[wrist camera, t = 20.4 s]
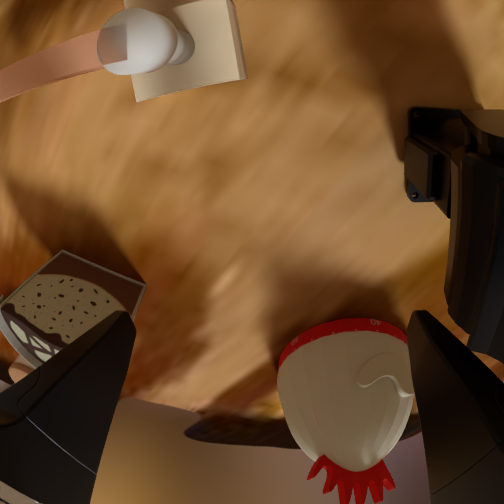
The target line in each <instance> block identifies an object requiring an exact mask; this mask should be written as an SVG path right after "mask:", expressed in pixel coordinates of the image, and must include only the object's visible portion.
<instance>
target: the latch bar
mask: <svg viewBox="0 0 504 504" xmlns="http://www.w3.org/2000/svg"><path fill="white" fill-rule="evenodd" d="M177 43H178V35H177V31H176V28H175V26H174V24H173V23H172V22H171V21H170V20H169V19H168V18H166V17H164V16H162V15H159V14H157V13H154V12H151V11H148V10H145V9H141V8H128V9H125V10H122V11H120V12H118V13H116V14H115V15H113V16H112V17H111V18H110V19H109V20H108V21H107V22H106V23H105V24H104V26H103V27H102V29H100V30H97V31H93V32H90V33H87V34H84V35H81V36H78V37H75V38H72V39H70V40H67V41H64V42H62V43H59V44H56V45H54V46H51V47H49V48H46V49H44V50H42V51H39V52H37V53H35V54H32V55H30V56H28V57H26V58H24V59H22V60H19V61H17V62H15V63H13V64H11V65H9V66H7V67H5V68H4V69H2V70H0V103H1V102H3V101H5V100H8V99H10V98H13V97H15V96H18V95H20V94H23V93H25V92H28V91H31V90H33V89H36V88H39V87H42V86H45V85H48V84H51V83H54V82H57V81H60V80H64V79H67V78H70V77H74V76H77V75H81V74H85V73H88V72H92V71H96V70H101V69H105V68H106V69H107V70H108V71H110V72H112V73H114V74H118V75H129V74H141V73H150V72H154V71H156V70H158V69H160V68H162V67H163V66H164V65H166V64H167V63H168V62H169V60H170V59H171V58H172V56H173V55H174V53H175V50H176V47H177Z"/></svg>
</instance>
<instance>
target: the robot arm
mask: <svg viewBox="0 0 504 504" xmlns="http://www.w3.org/2000/svg"><path fill="white" fill-rule="evenodd" d="M415 111H417V112H418V116H417V117H416V118H415V117H414V115H413V113H414V112H415ZM404 175H405V176H406V177H407V178H408V183H407V196H408V198H409V199H410V200H411V201H412V202H434V203H435V204H436V205H437V206H438V207H439V208H440V210H441V211H442V212H443V213H444V214H445V215H446V216H447V218H449V219H451V220H450V237H449V249H448V260H447V269H446V277H445V285H444V293H445V297H446V301H447V304H448V306H449V307H448V314H449V315H450V316H451V318H452V319H453V320H454V322H455V323H456V324H457V325H458V326H459V327H460V328H462V329H463V330H464V331H465V332H466V333H468V334H469V335H470V336H469V339H468V342H467V346H465V345H464V344H463V343H462V342H461V341H460V340H459V339H458V338H457V337H455V336H454V335H453V334H452V333H451V332H450V331H449V330H448V329H447V328H446V327H445V326H443V325H442V324H441V323H440V322H439V321H438V320H437V319H436V318H435V317H433V316H432V315H431V314H430V313H429V312H428V311H426V310H415V311H413V312H412V315H411V318H410V321H409V324H408V328H407V333H406V336H407V344H408V351H409V359H410V368H411V376H412V382H413V387H414V392H415V397H416V402H417V407H418V412H419V418H420V424H421V429H422V436H423V442H424V448H425V456H426V464H427V471H428V481H429V492H430V495H431V496H430V504H504V383H503V382H502V381H501V380H500V379H499V378H497V376H496V375H495V374H494V373H493V372H492V371H491V370H490V369H489V368H488V367H487V366H486V365H485V364H484V363H483V362H482V361H481V360H480V359H479V358H478V357H477V356H476V355H475V354H474V353H473V352H471V351H475V352H479V353H483V354H487V355H489V356H491V357H493V358H495V359H496V360H498V361H500V362H502V363H503V364H504V110H459V109H448V108H435V107H419V106H413V107H411V108H409V110H408V136H407V137H406V138H405V168H404ZM414 192H417V194H416V196H414V197H412V194H413V193H414ZM135 337H136V328H135V325H134V323H133V321H132V319H131V316H130V314H129V313H128V312H127V311H125V310H116V311H114V312H113V313H111V314H110V315H109V316H107V317H106V318H104V319H103V320H102V321H100V322H99V323H97V324H96V325H95V326H93V327H92V328H91V329H89V330H88V331H86V332H85V333H84V334H82V335H81V336H79V337H78V338H77V339H75V340H74V341H73V342H71V343H70V344H69V345H67V346H66V347H64V348H63V349H62V350H60V351H59V352H58V353H56V354H55V355H54V356H52V357H51V358H50V359H48V360H47V361H46V362H44V363H43V364H42V365H40V366H39V367H37V368H36V369H35V370H34V371H32V372H31V373H29V374H28V375H27V376H25V377H24V378H22V379H21V380H19V381H18V382H16V383H15V384H13V385H12V386H10V387H9V388H7V389H6V390H4V391H2V392H1V393H0V504H90V500H91V496H92V492H93V488H94V484H95V480H96V476H97V475H96V474H97V471H98V467H99V464H100V460H101V456H102V453H103V449H104V445H105V442H106V439H107V435H108V432H109V428H110V425H111V422H112V418H113V415H114V412H115V409H116V406H117V402H118V399H119V396H120V393H121V390H122V387H123V384H124V381H125V378H126V375H127V371H128V367H129V363H130V358H131V354H132V350H133V346H134V341H135ZM470 350H471V351H470Z"/></svg>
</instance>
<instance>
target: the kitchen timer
mask: <svg viewBox="0 0 504 504" xmlns="http://www.w3.org/2000/svg"><path fill="white" fill-rule="evenodd" d="M277 386H278V393H279V397H280V401H281V405H282V408H283V411H284V415H285V418H286V421H287V423H288V426H289V429H290V431H291V433H292V435H293V437H294V439H295V440H296V442H297V444H298V445H299V446H300V448H301V449H302V450H303V451H304V452H305V453H306V454H307V455H308V456H309V457H310V458H311V459H312V460H313V461H315V463H314V465H313V467H312V468H311V470H310V472H309V475H308V478H307V480H309V479H311V478H314V477H315V476H316V475H317V474H318V472H319V471H320V470H321V469H322V468H324V469H326V471H327V479H326V482H325V485H324V489H323V494H326V493H328V492H331V491H332V490H333V489H334V487H335V485H336V484H337V485H338V493H339V500H340V504H349V502H350V498H351V494H352V490H353V489H354V495H355V502H356V504H364V503H365V499H366V495H367V489H368V487H369V489H370V492H371V495H372V498H373V501H374V503H375V504H376V503H379V502H382V501H383V485H384V487H385V488H386V489H387V490H388V491H390V490H392V489H395V484H394V481H393V479H392V477H391V475H390V473H389V471H388V469H387V467H386V465H385V463H384V461H383V458H384V457H385V456H386V455H387V454H388V453H389V452H390V451H391V449H392V448H393V447H394V446H395V444H396V443H397V441H398V440H399V438H400V436H401V435H402V433H403V431H404V428H405V426H406V423H407V421H408V418H409V415H410V412H411V408H412V403H413V397H414V387H413V382H412V376H411V368H410V359H409V351H408V344H407V336H406V335H405V334H404V333H403V332H402V331H401V330H400V329H399V328H398V327H396V326H394V325H391V324H389V323H387V322H385V321H381V320H375V319H370V318H346V319H339V320H335V321H331V322H327V323H322V324H320V325H317V326H315V327H313V328H311V329H309V330H307V331H304V332H302V333H301V334H300V335H298V336H297V337H296V338H295V339H293V340H292V341H291V342H289V343H288V344H287V346H286V347H285V349H284V350H283V352H282V353H281V355H280V360H279V366H278V376H277Z"/></svg>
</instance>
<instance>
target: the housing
mask: <svg viewBox="0 0 504 504" xmlns="http://www.w3.org/2000/svg"><path fill="white" fill-rule="evenodd" d="M124 7H125V9H128V8H141V9H145V10H148V11H151V12H154V13H157V14H159V15H162V16H164V17H166V18H168V19H169V20H170V21H171V22H172V23H173V24H174V26H175V28H176V31H177V35H178V43H177V47H176V50H175V53H174V55H173V56H172V58H171V59H170V60H169V62H168V63H167V64H166V65H164V66H163V67H162V68H160V69H158V70H156V71H154V72H150V73H141V74H131V77H132V82H133V87H134V92H135V97H136V102H139V101H143V100H147V99H151V98H155V97H159V96H163V95H167V94H171V93H175V92H180V91H184V90H188V89H193V88H198V87H203V86H208V85H213V84H218V83H224V82H229V81H236V80H242V79H248V78H247V72H246V66H245V60H244V54H243V48H242V43H241V37H240V31H239V25H238V20H237V14H236V8H235V5H234V4H233V3H232V2H231V1H230V0H124Z"/></svg>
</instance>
